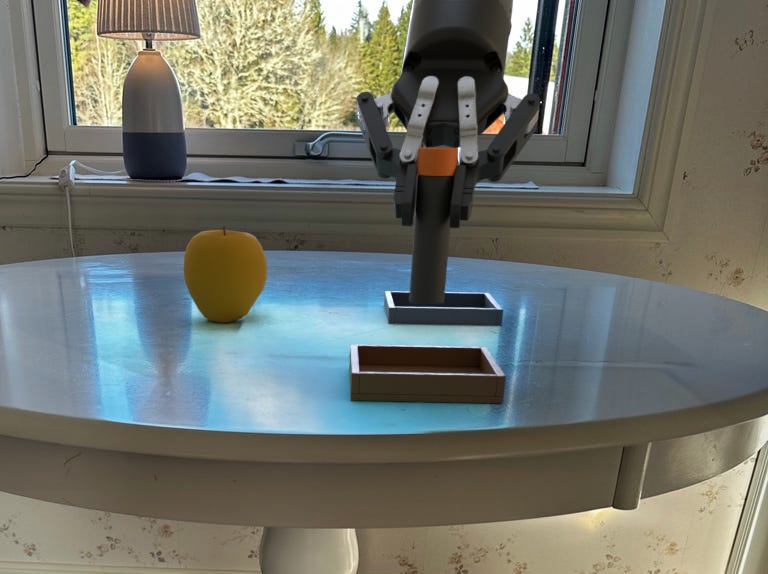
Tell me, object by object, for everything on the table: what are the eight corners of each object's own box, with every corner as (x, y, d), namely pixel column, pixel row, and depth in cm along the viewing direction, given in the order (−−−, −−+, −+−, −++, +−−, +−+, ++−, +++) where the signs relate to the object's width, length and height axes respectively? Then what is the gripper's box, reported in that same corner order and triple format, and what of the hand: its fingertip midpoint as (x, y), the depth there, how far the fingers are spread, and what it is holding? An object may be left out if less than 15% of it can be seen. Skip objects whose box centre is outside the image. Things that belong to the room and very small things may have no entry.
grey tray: (487, 312, 103) (489, 292, 102) (501, 330, 94) (503, 309, 93) (383, 310, 104) (384, 291, 103) (387, 328, 95) (389, 307, 94)
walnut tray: (484, 371, 79) (487, 346, 78) (503, 403, 70) (506, 376, 69) (349, 368, 79) (350, 344, 78) (350, 400, 70) (351, 373, 70)
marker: (443, 299, 73) (456, 147, 68) (446, 305, 70) (460, 148, 65) (406, 298, 73) (417, 147, 68) (408, 304, 71) (419, 148, 66)
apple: (285, 321, 98) (285, 227, 93) (217, 331, 93) (214, 233, 89) (235, 309, 103) (234, 220, 99) (169, 318, 99) (164, 225, 94)
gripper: (363, -18, 69) (327, 177, 65) (561, -21, 67) (538, 182, 62) (370, 70, 77) (337, 251, 72) (549, 71, 74) (527, 259, 69)
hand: (431, 218), depth 67 cm, fingers closed on marker, 3 cm apart
